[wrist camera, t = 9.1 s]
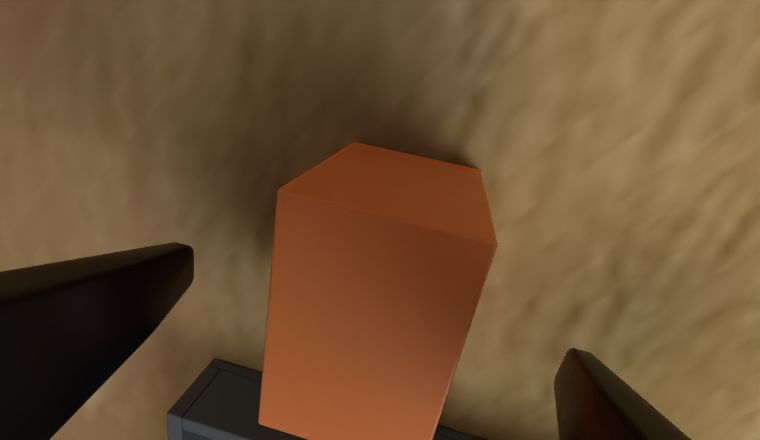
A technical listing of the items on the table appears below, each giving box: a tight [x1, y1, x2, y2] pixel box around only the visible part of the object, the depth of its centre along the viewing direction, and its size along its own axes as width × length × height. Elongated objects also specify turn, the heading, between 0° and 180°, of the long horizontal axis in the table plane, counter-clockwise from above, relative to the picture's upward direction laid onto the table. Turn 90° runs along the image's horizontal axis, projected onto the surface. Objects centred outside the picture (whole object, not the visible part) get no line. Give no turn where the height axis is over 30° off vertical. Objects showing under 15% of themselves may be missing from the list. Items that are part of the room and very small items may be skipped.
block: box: [258, 142, 497, 440], centre depth 10 cm, size 4×6×6 cm, turn 169°
